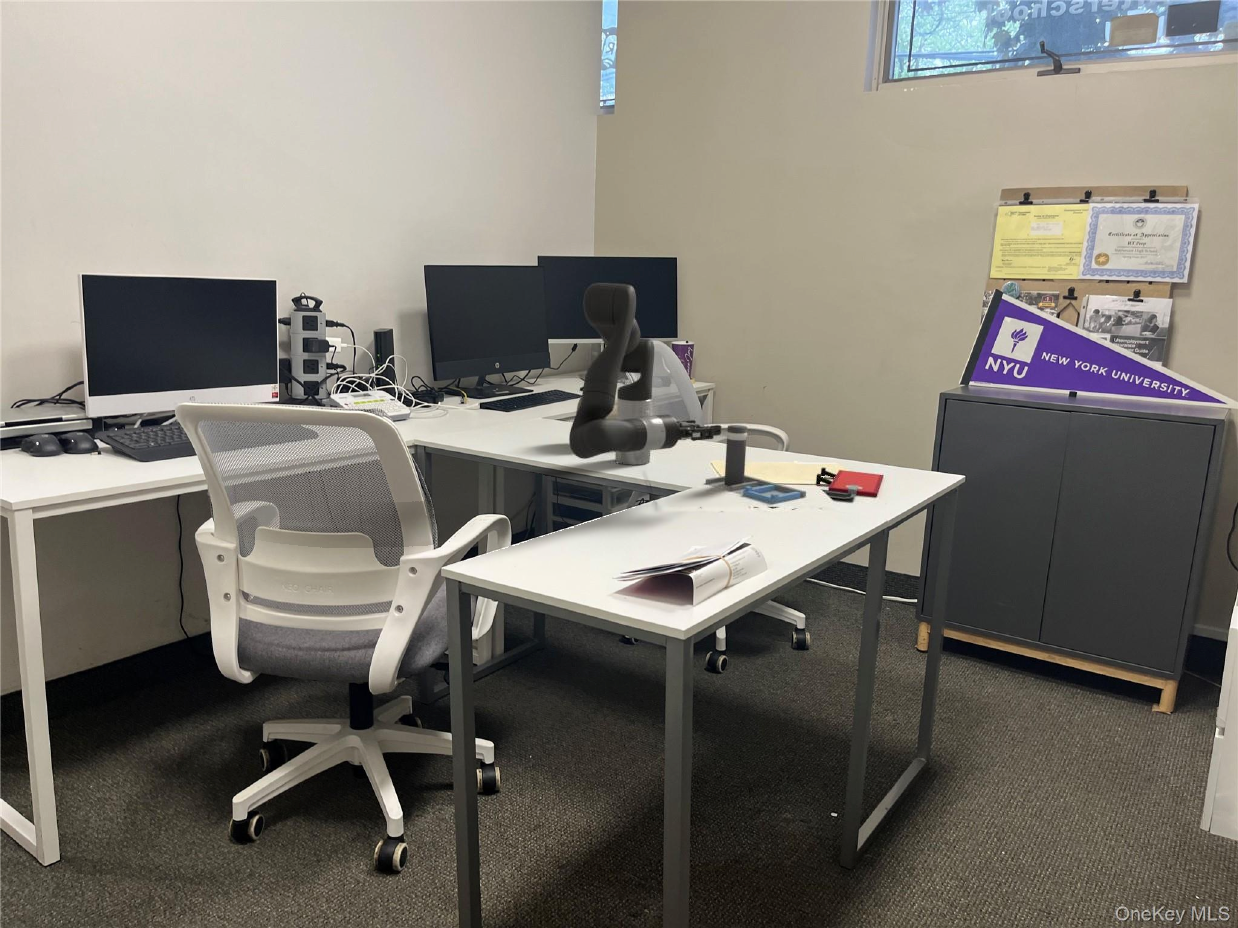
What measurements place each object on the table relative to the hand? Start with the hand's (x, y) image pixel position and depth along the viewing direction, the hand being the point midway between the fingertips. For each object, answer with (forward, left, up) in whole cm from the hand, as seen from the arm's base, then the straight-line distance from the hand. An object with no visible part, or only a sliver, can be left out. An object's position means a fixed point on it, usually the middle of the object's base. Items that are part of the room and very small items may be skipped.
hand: (707, 427), depth 204 cm
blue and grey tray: (+12, +1, -16) cm, 20 cm away
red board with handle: (+37, +10, -17) cm, 42 cm away
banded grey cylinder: (+8, +6, -15) cm, 18 cm away
